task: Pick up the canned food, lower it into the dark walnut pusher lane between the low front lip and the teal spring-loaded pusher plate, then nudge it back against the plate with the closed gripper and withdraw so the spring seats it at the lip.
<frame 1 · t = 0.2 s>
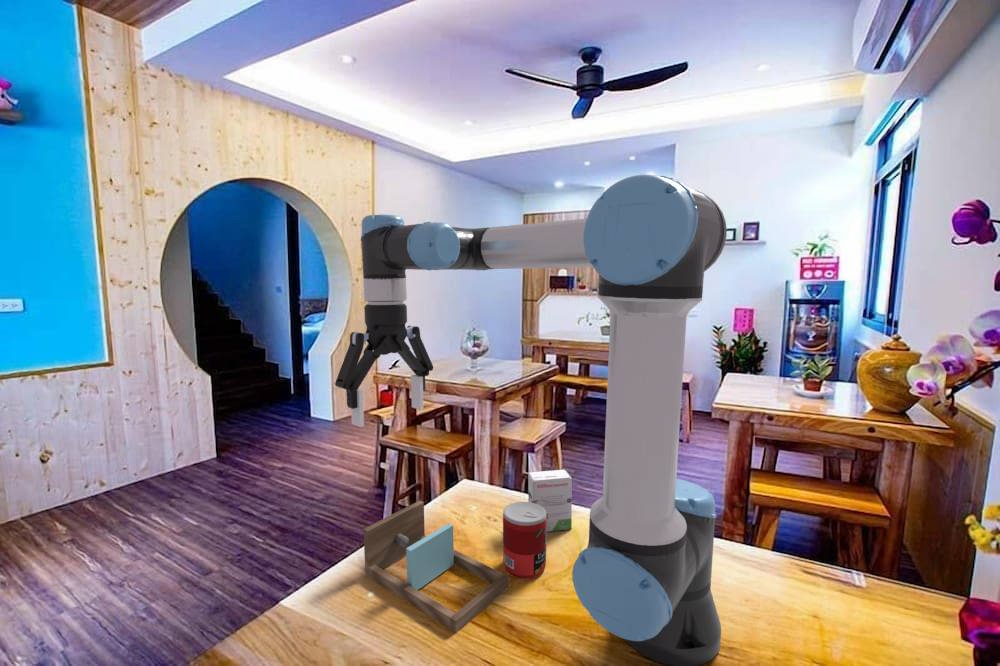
hand: (389, 416, 89), 28 cm above the table, fingers open, 13 cm apart
canned food: (524, 568, 88), on the table
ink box: (549, 527, 103), on the table
pusher: (427, 554, 85), point 4 cm above the table, slide at 0.0 cm
lane: (435, 581, 84), on the table
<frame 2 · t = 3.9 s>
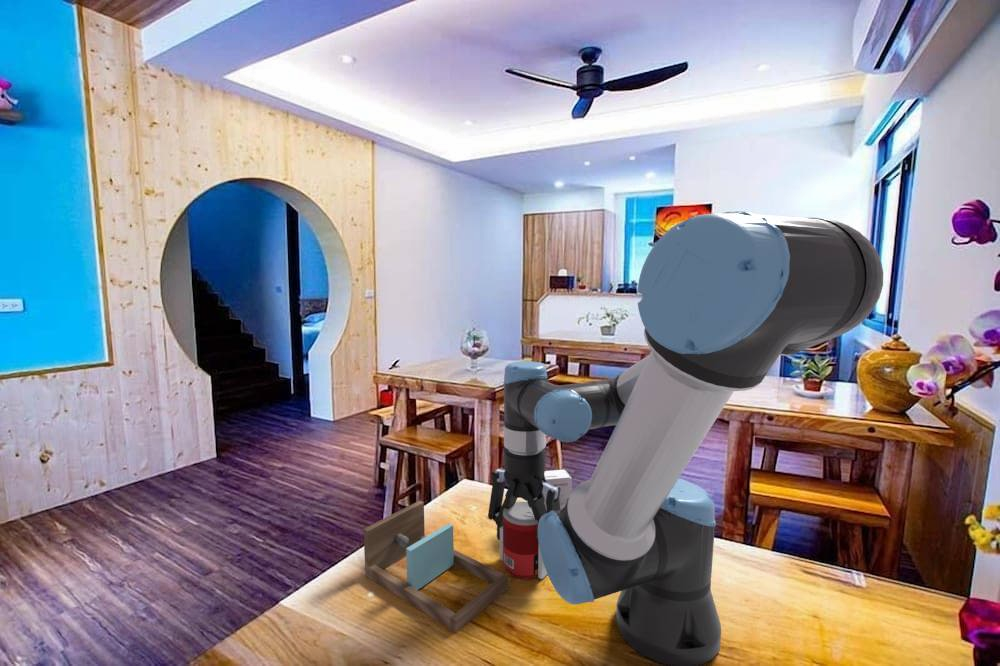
hand: (524, 565, 88), 0 cm above the table, fingers closed on canned food, 8 cm apart
canned food: (524, 568, 88), on the table, touching gripper
everything else where it was.
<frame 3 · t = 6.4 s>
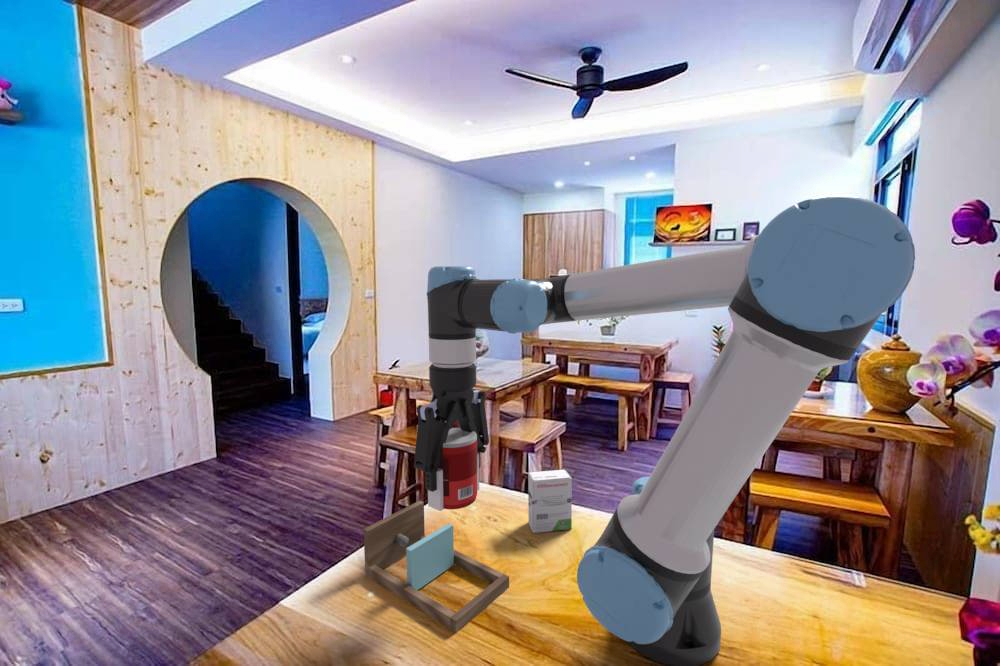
hand: (454, 497, 79), 17 cm above the table, fingers closed on canned food, 8 cm apart
canned food: (454, 499, 79), point 17 cm above the table, touching gripper
everything else where it was.
when the fingers open (3 cm above the table, at t = 9.4 s): canned food drops 3 cm, resting in lane.
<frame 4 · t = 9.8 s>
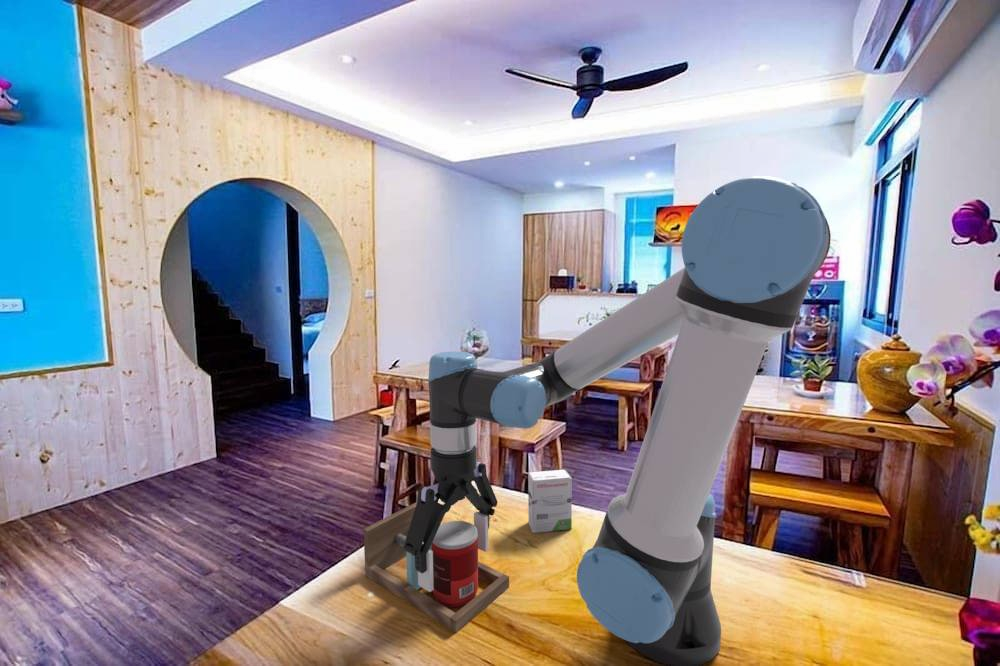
hand: (455, 566, 81), 5 cm above the table, fingers open, 13 cm apart
canned food: (455, 593, 81), resting in lane
everything else where it was.
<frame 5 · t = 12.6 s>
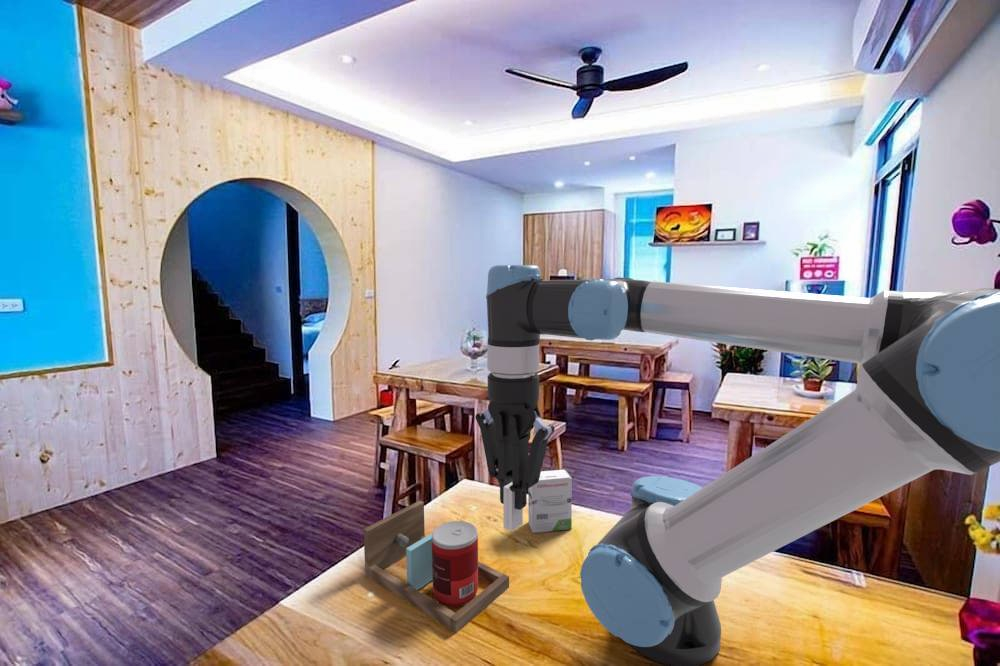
hand: (513, 525, 72), 16 cm above the table, fingers closed
nothing on the table moved.
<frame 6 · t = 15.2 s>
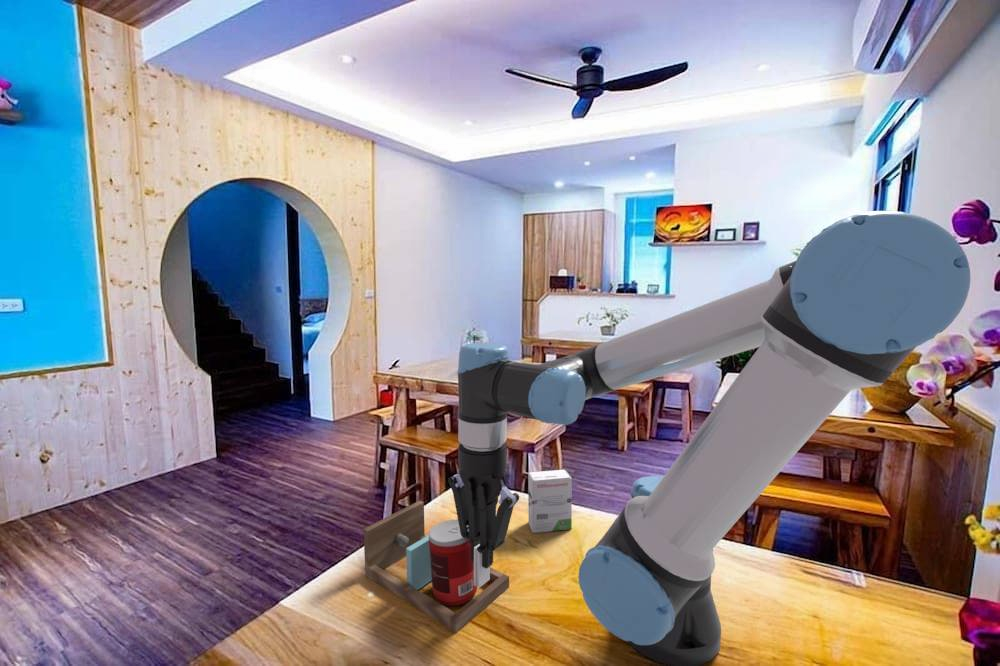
hand: (481, 582, 77), 4 cm above the table, fingers closed
canned food: (455, 592, 81), resting in lane, touching gripper
everything else where it was.
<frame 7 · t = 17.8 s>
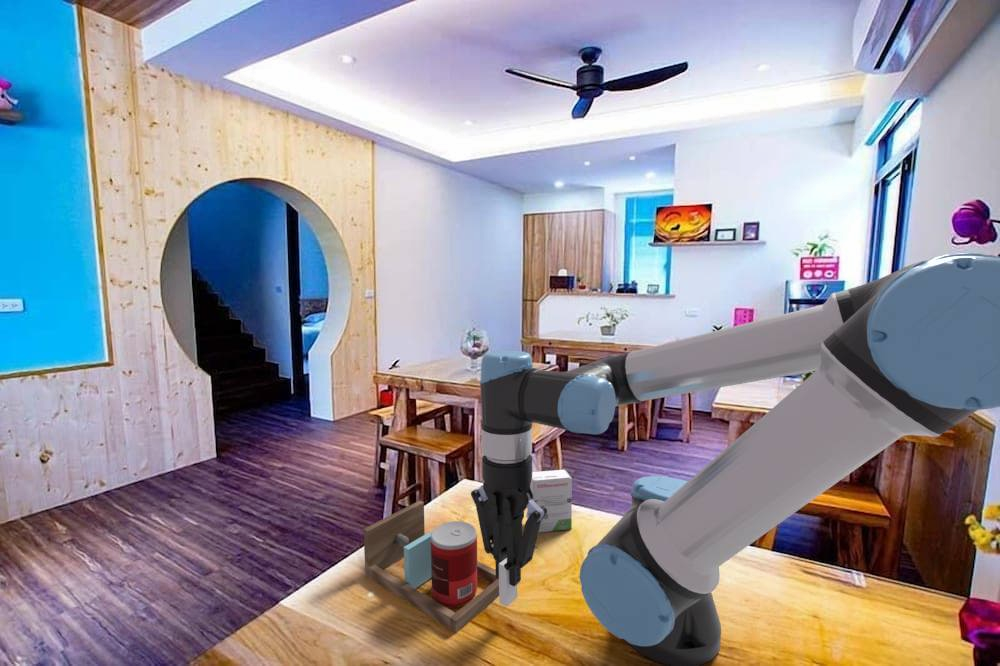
hand: (508, 600, 74), 4 cm above the table, fingers closed
canned food: (454, 594, 81), resting in lane
pusher: (424, 553, 85), point 4 cm above the table, slide at 0.6 cm
everything else where it was.
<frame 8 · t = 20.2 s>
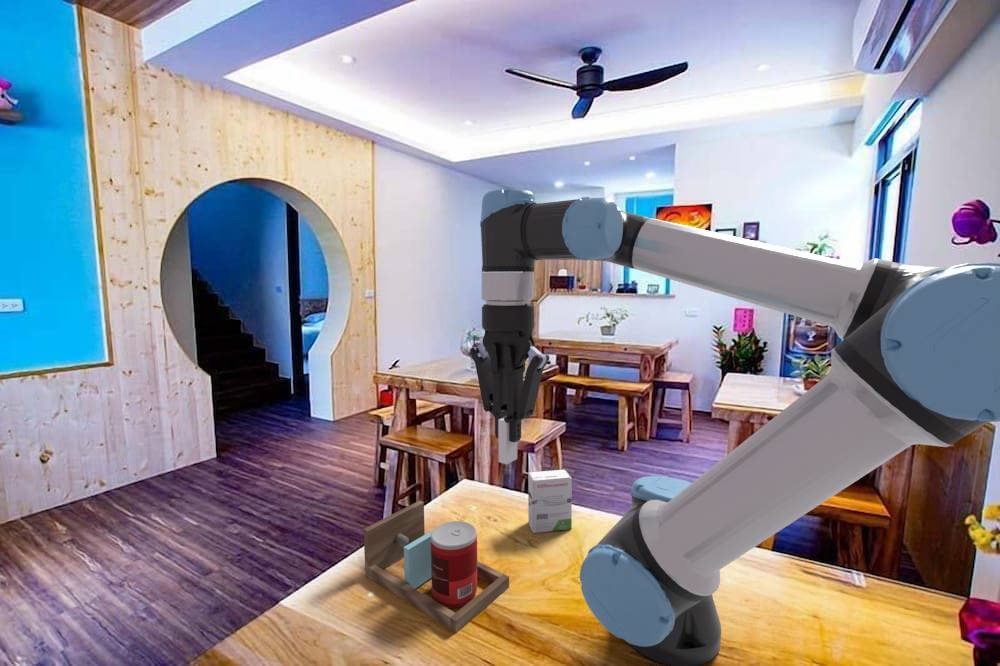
hand: (508, 460, 71), 26 cm above the table, fingers closed
nothing on the table moved.
at the end: canned food inside the target area (2.2 cm from its centre), resting in lane; canned food tilted 0°; the gripper is holding nothing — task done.
